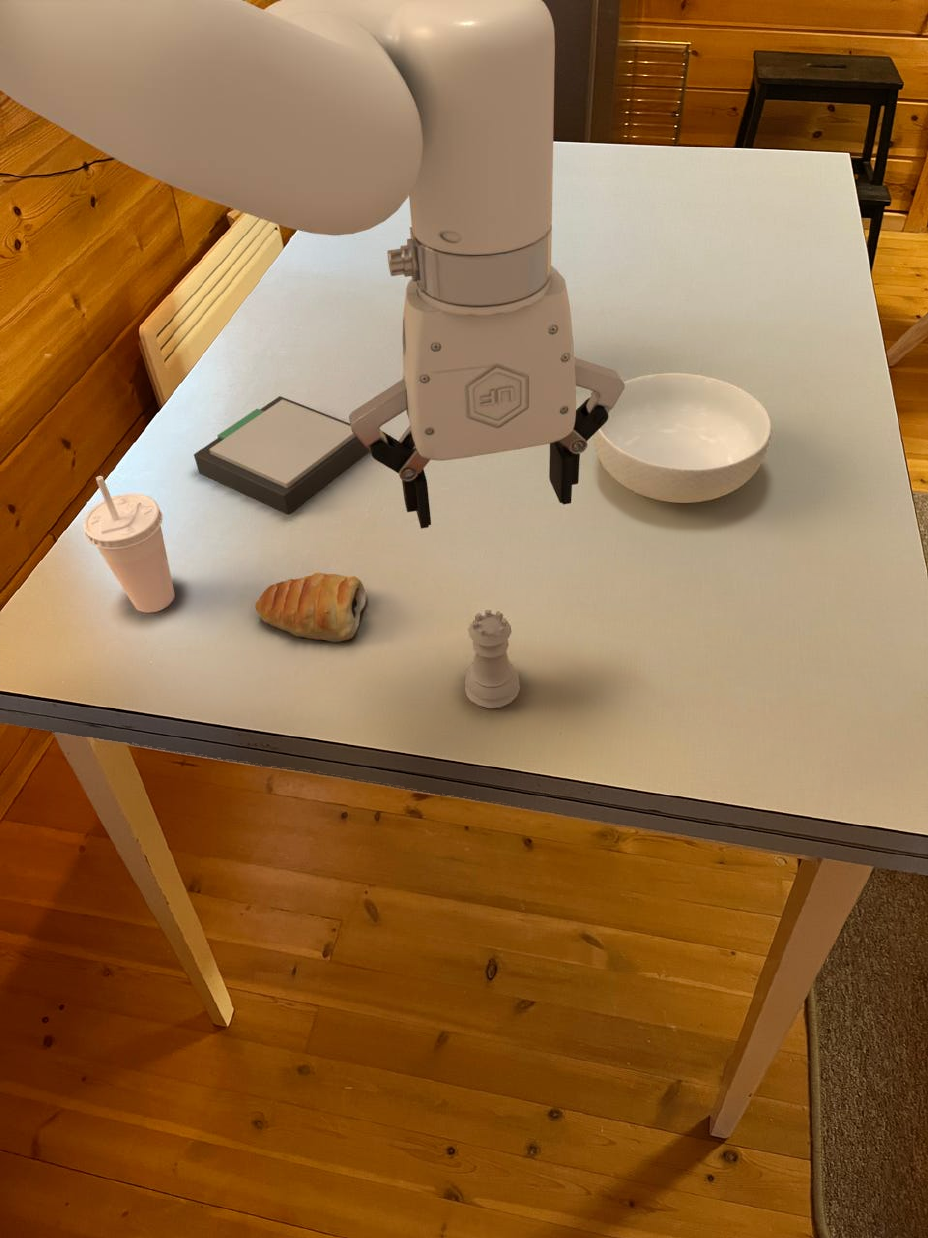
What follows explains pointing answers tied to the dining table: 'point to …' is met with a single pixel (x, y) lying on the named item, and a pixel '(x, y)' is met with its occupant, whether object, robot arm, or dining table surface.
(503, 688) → the rook chess piece
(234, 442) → the scale
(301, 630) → the pastry
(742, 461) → the cereal bowl
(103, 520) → the smoothie
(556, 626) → the dining table surface
